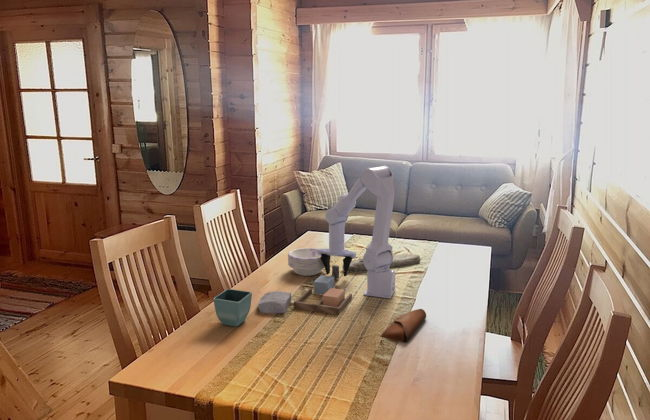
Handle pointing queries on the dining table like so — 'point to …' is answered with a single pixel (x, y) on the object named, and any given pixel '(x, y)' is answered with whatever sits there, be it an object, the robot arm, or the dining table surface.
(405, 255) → the long grey stone
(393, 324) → the sunglasses case
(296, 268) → the paper bowls
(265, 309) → the stone block
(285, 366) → the dining table surface
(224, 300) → the flower pot
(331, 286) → the grey mallet
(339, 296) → the terracotta block
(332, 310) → the lane rack
